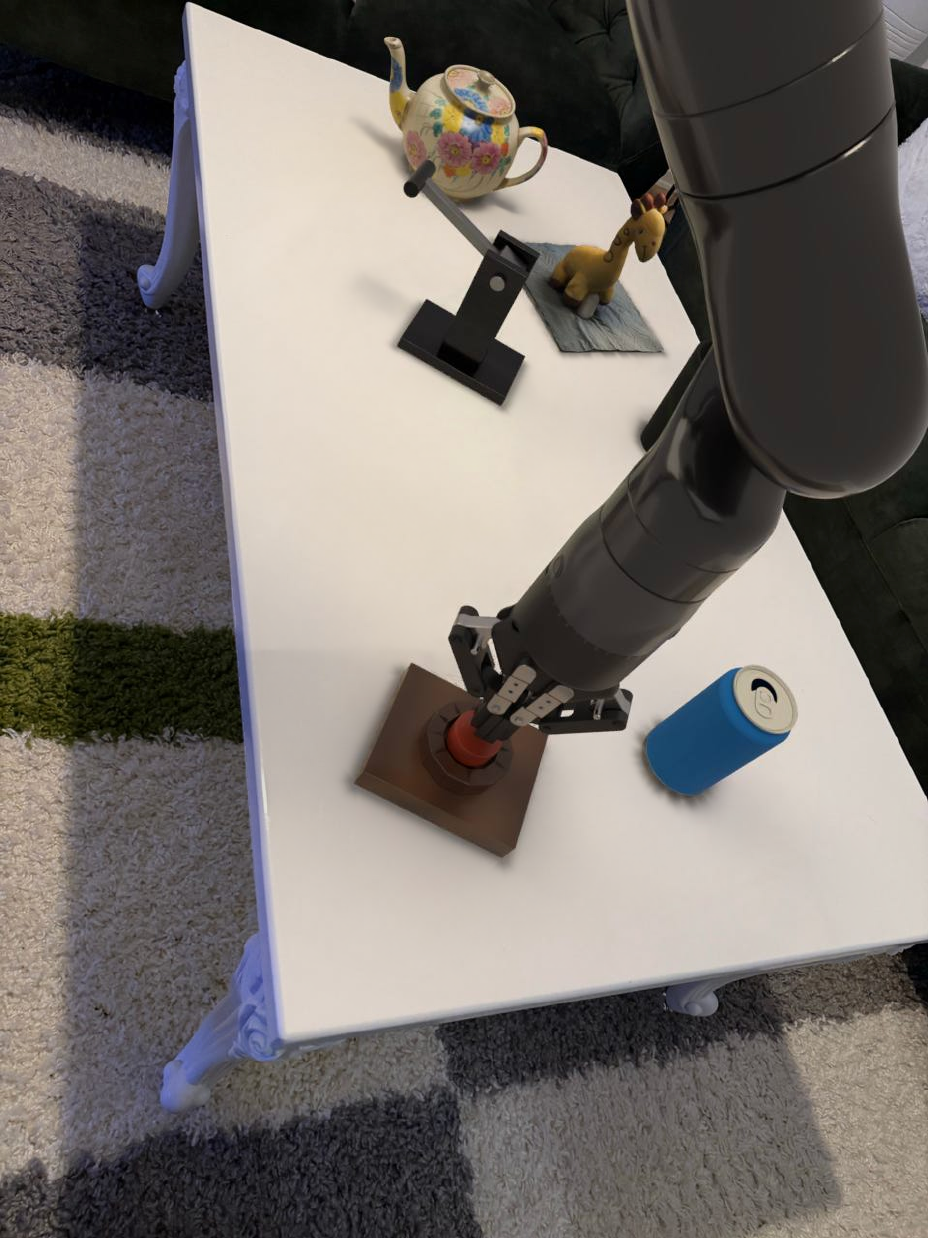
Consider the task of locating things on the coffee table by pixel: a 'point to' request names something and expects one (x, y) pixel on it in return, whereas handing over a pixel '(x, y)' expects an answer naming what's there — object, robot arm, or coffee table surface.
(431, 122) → the teapot
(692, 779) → the beverage can
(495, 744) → the button
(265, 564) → the coffee table surface
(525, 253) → the bracket
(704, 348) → the cup
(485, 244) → the lever
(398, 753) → the button block
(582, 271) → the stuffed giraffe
